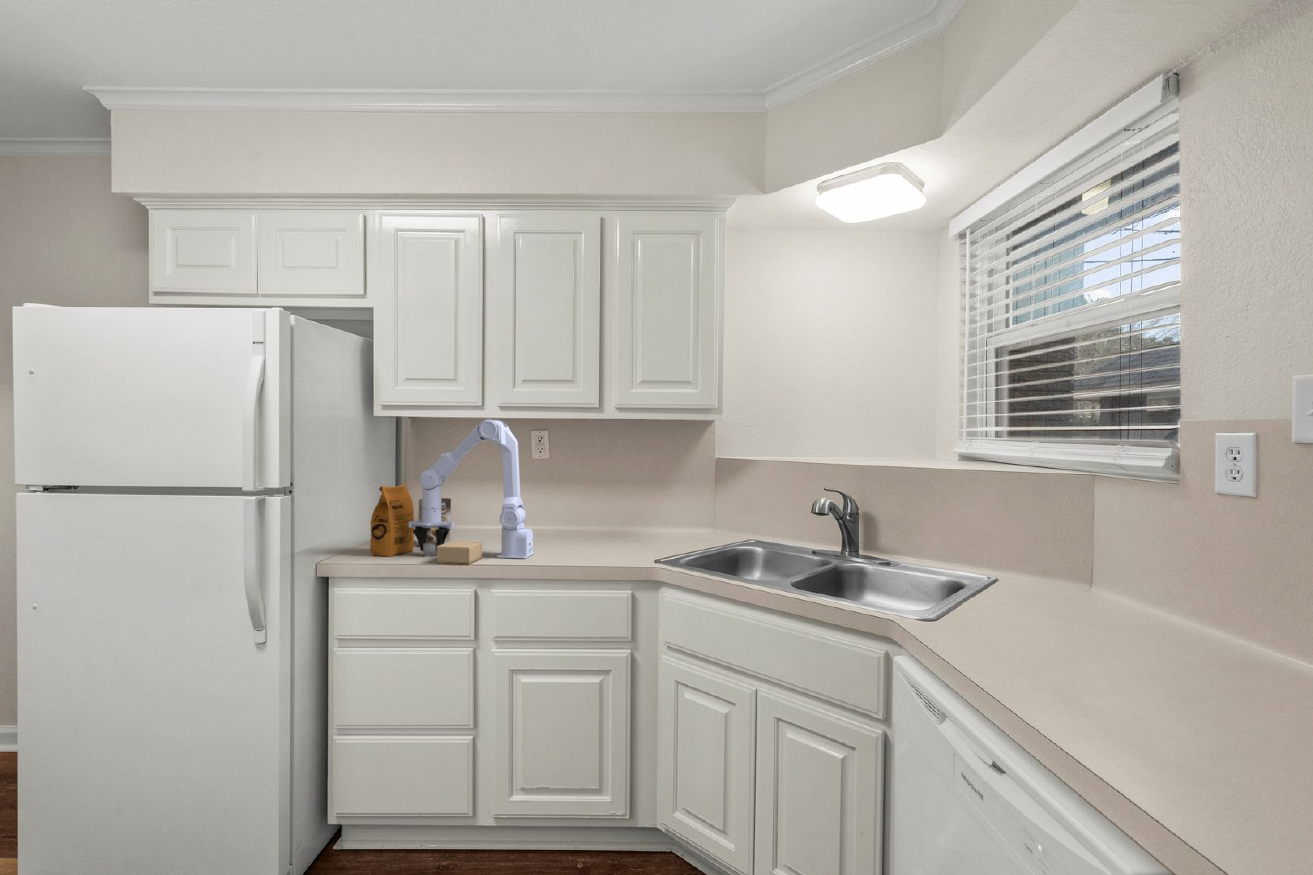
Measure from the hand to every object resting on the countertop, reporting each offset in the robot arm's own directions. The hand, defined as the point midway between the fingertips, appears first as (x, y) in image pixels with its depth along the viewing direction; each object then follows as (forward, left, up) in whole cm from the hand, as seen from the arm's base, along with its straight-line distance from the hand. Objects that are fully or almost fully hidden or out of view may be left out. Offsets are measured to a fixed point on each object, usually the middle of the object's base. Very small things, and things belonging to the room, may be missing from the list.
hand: (431, 550), depth 192 cm
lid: (-13, +7, +3) cm, 15 cm away
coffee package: (+14, -1, -2) cm, 14 cm away
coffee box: (+8, -17, -2) cm, 19 cm away
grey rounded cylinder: (0, 0, -1) cm, 1 cm away
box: (-13, +7, -1) cm, 15 cm away
